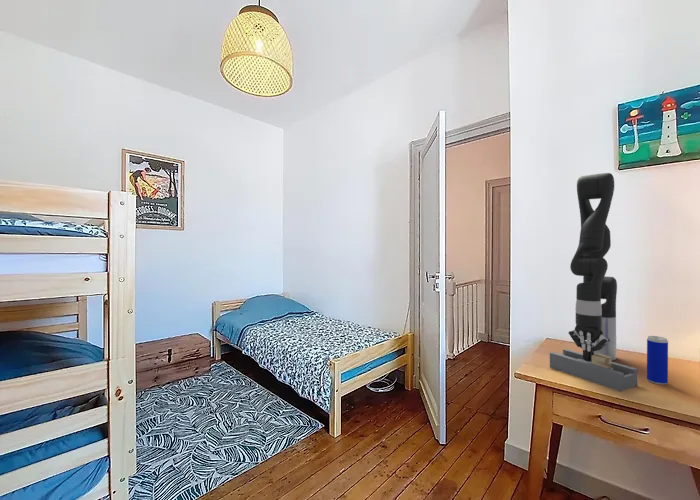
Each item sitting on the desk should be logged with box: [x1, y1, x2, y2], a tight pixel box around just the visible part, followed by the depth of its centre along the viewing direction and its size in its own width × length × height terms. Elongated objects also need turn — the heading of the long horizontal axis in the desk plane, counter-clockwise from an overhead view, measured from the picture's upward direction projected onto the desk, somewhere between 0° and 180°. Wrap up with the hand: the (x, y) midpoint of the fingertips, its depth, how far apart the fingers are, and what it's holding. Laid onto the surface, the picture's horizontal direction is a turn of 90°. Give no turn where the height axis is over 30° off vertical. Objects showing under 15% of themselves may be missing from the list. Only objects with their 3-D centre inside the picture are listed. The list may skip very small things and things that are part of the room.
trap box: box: [549, 348, 639, 392], centre depth 116 cm, size 10×23×6 cm, turn 25°
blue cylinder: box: [646, 335, 669, 386], centre depth 110 cm, size 5×5×15 cm
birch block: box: [592, 354, 612, 369], centre depth 113 cm, size 4×4×4 cm
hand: (588, 360), depth 117 cm, fingers closed
